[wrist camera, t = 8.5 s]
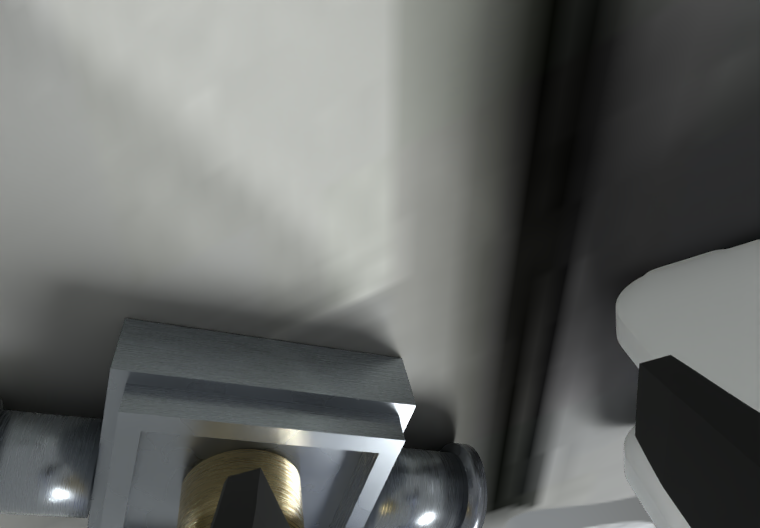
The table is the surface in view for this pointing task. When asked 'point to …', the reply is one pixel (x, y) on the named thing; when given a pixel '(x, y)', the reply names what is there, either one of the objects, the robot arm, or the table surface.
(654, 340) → the cable organizer
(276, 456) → the brass cylinder
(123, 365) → the valve body
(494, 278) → the table surface
